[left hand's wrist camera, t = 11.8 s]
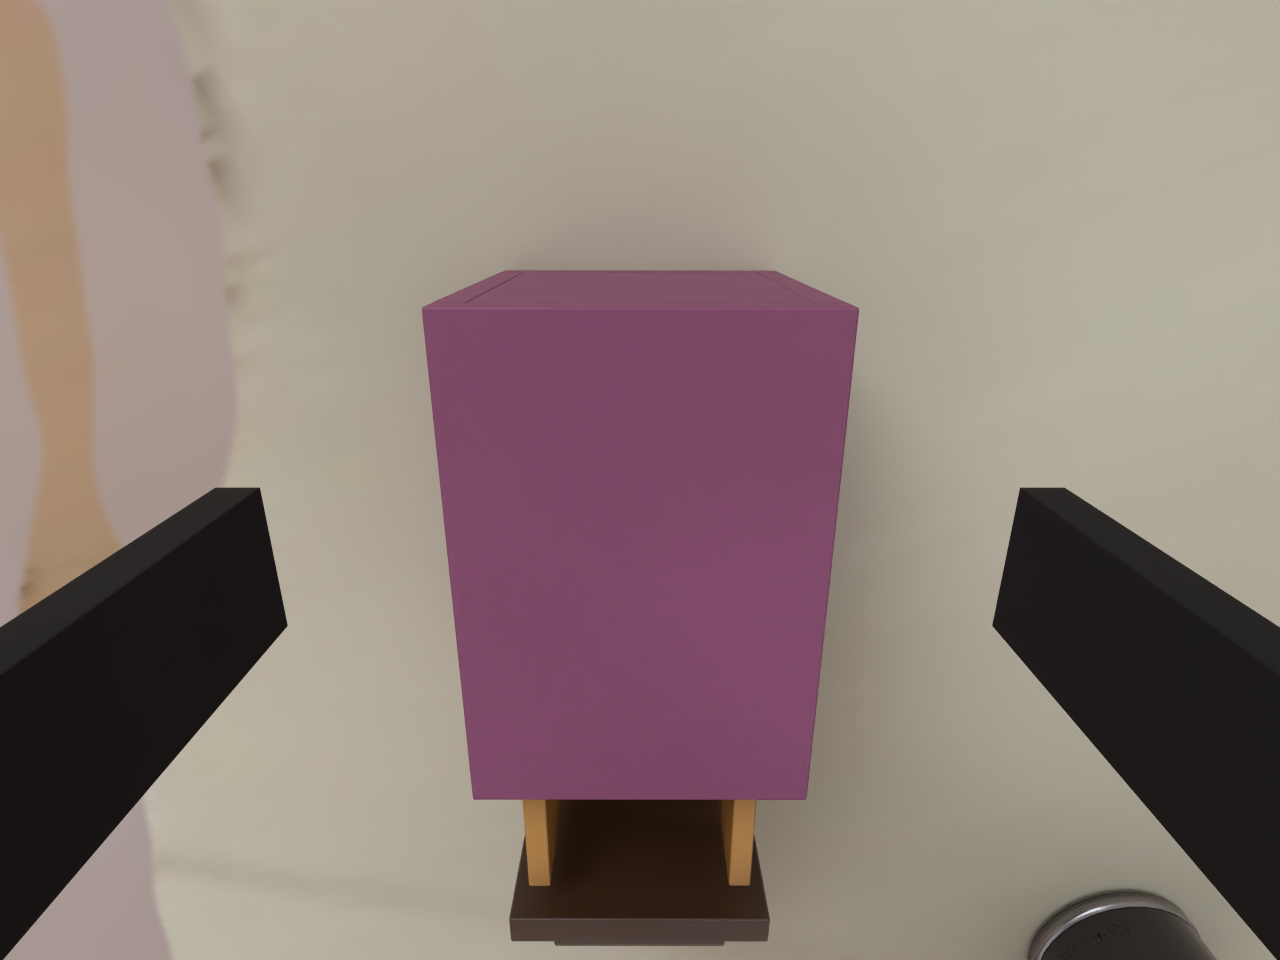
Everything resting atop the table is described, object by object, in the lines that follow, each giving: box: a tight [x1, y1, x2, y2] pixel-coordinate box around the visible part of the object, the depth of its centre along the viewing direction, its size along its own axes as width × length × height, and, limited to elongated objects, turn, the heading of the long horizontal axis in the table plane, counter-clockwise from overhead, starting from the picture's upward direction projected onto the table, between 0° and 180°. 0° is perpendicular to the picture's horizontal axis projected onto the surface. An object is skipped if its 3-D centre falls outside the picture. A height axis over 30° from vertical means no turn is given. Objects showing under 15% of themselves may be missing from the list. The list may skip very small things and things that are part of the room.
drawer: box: [509, 800, 770, 946], centre depth 30 cm, size 20×10×10 cm, turn 0°
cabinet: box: [422, 271, 859, 800], centre depth 26 cm, size 16×11×12 cm
